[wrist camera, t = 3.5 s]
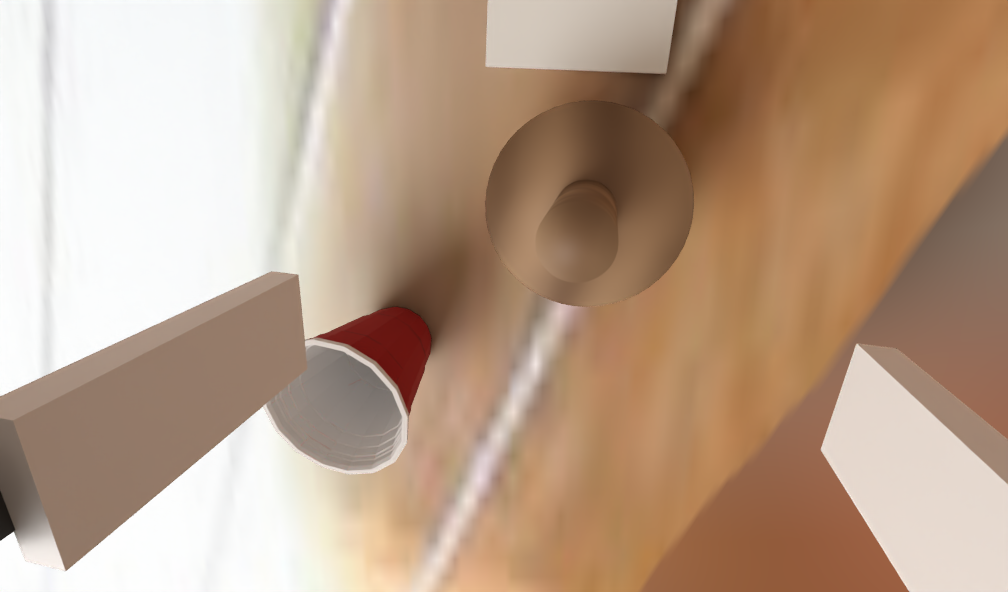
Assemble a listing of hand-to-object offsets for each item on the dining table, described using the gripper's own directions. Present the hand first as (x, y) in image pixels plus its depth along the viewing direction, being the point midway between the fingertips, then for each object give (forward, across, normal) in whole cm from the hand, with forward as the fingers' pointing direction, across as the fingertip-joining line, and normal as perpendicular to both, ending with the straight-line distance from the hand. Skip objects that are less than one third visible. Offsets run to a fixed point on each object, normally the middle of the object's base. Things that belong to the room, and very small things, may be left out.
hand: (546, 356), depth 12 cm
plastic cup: (+26, -15, -14) cm, 33 cm away
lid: (+20, 0, 0) cm, 20 cm away
